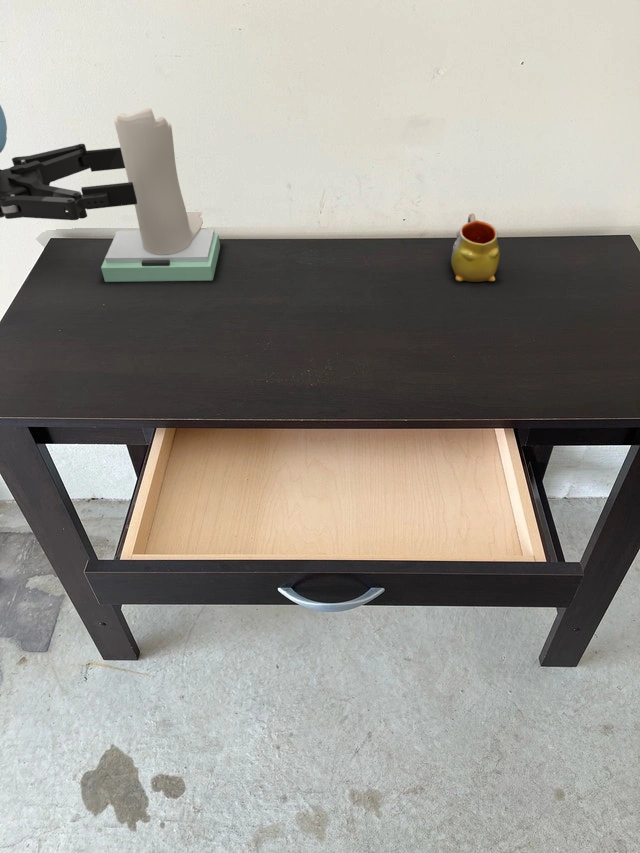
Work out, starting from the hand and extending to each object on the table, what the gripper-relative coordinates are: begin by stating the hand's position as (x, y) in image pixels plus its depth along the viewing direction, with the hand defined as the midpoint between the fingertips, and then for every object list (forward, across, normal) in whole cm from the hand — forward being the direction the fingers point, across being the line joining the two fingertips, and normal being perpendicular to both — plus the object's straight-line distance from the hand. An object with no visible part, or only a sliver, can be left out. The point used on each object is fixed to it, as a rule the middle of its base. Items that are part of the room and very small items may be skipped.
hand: (135, 174), depth 91 cm
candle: (+4, -3, -11) cm, 12 cm away
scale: (+1, 0, -14) cm, 14 cm away
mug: (+47, +11, -14) cm, 50 cm away
